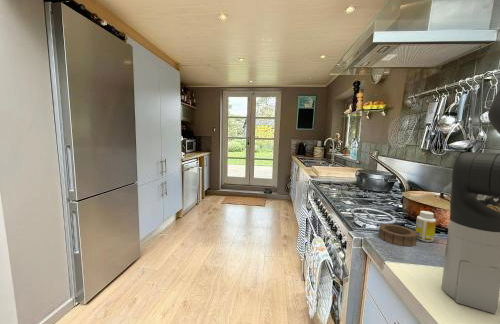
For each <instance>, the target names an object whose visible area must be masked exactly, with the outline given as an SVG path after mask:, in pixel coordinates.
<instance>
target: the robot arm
mask: <svg viewBox="0 0 500 324" xmlns="http://www.w3.org/2000/svg"><path fill="white" fill-rule="evenodd" d="M487 118H488V120H489V122H490V124H491V126H492V127H493V128H494V129H495V131H496V132H497V133H498V134H499V135H500V89H499V90H498V91H497V92H496V94H495V96H494V98H493V100H492V102H491V104H490V107H489V108H488V111H487ZM451 172H452V173H451V186H450V188H451V190H450V191H451V192H450V204H449V209H450V210H449V223H448V229H447V237H446V245H445V253H444V262H443V270H442V279H441V289H442V291H443V292H444V293H445V294H447V296H449V297H450V298H452V299H453V300H454V301H455V302H456V303H457V304H460V305H464V306H467V307H470V308H475V309H476V310H480V311H484V312H488V313H490V314H494V315H495V314H496V310H497V309H498V306H499V305H498V304H499V299H500V211H497V210H495V209H493V208H491V207H490V206H492V207H496V206H498V205H500V152H499V153H498V152H497V153H496V152H477V151H476V152H473V151H468V152H467V151H466V152H461V153H459V154H458V155H457V156H456V158H455V160H454V162H453V165H452V170H451ZM479 198H481V199H479Z"/></svg>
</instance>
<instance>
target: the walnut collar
mask: <svg viewBox="0 0 500 324" xmlns="http://www.w3.org/2000/svg"><path fill="white" fill-rule="evenodd" d="M378 238H380V239H381V240H383V241H384V242H387V243H389V244H391V245H392V244H393V245H396V246H401V247H414V246H416V244H417V234H416V230H412V229H410V228H408V227H405V226H403V225H402V226H401V225H398V224H391V223H389V224H387V223H384V224H380V225H379V228H378Z"/></svg>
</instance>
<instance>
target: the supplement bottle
mask: <svg viewBox="0 0 500 324" xmlns="http://www.w3.org/2000/svg"><path fill="white" fill-rule="evenodd" d="M434 214H435V213H433V212H432V211H428V210H427V211H426V210H420V212H419V215H417V217H416V221H415V222H416V223H415V232H416V234H417V238H416V240H417V239H418V240H420V241H422V242H428V243H432V242H434V241H435V235H436V225H437V219H436V218H435V215H434Z"/></svg>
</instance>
